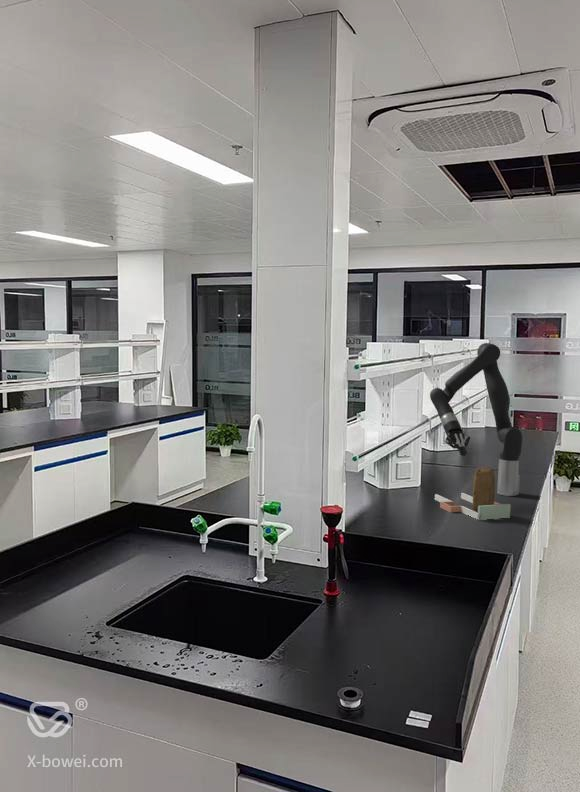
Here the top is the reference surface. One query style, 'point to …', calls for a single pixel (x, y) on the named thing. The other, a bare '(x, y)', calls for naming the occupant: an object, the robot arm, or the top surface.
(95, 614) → the top surface
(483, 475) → the block
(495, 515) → the trap channel
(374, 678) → the top surface
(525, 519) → the top surface
